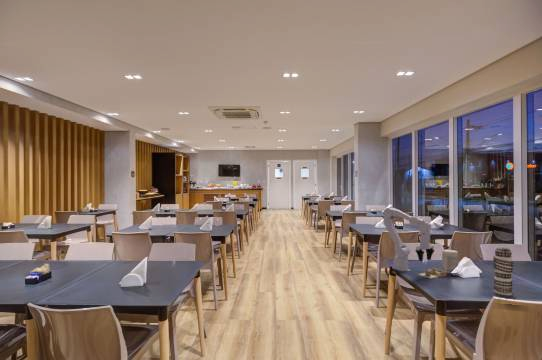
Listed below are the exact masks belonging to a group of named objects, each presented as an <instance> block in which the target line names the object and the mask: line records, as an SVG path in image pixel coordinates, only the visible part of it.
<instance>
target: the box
mask: <svg viewBox="0 0 542 360" xmlns="http://www.w3.org/2000/svg"><path fill="white" fill-rule="evenodd" d="M427 271H431V275H434V276H438V278H443V277H447V274H448V273H447V272H445V271H442V269H439V268H438V269H437V268H429V269H427ZM435 271H437V272H435ZM439 272H441V273H439Z"/></svg>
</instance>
